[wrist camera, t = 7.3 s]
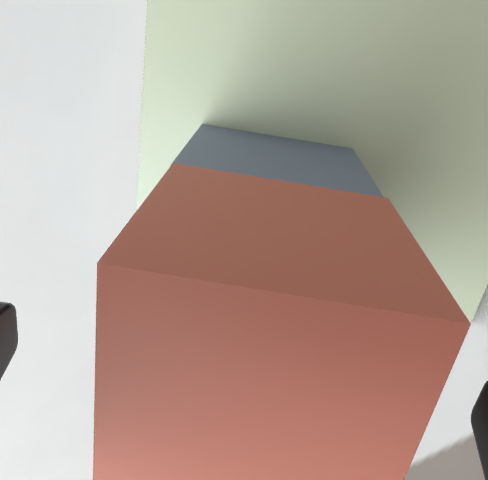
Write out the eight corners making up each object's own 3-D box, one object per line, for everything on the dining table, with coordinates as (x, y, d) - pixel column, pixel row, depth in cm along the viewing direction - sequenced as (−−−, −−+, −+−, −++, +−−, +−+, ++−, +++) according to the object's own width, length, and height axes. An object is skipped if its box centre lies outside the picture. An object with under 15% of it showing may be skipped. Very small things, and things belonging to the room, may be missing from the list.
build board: (661, -179, 12) (691, -196, 11) (455, 322, 19) (465, 337, 18) (170, -260, 12) (162, -283, 11) (139, 272, 19) (132, 284, 18)
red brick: (388, 197, 11) (470, 323, 6) (337, 367, 13) (371, 554, 8) (173, 162, 11) (97, 262, 6) (157, 339, 13) (92, 511, 8)
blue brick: (352, 148, 15) (385, 199, 11) (320, 279, 17) (335, 369, 13) (201, 123, 15) (170, 165, 11) (187, 258, 17) (155, 340, 13)
